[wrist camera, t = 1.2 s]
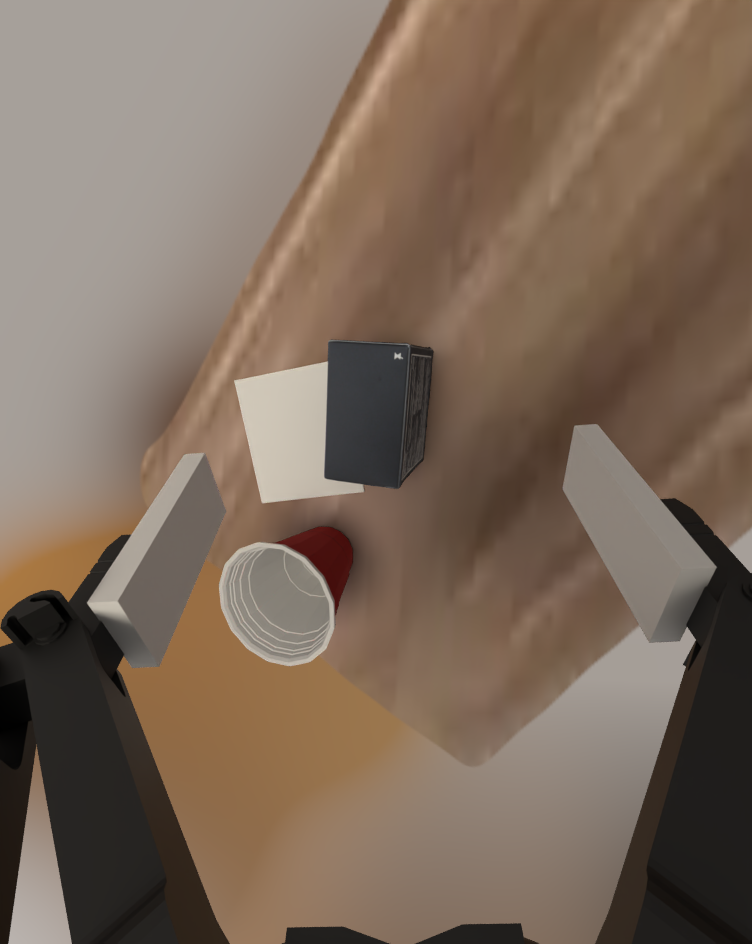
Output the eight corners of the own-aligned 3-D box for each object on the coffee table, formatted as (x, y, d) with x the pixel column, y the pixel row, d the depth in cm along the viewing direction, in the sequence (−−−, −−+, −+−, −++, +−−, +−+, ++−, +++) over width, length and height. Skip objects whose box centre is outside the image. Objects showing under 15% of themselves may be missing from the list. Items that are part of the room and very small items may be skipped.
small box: (364, 343, 41) (323, 335, 32) (434, 347, 40) (414, 340, 30) (359, 455, 44) (319, 480, 34) (424, 462, 42) (402, 491, 33)
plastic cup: (284, 490, 47) (217, 529, 36) (383, 516, 45) (344, 565, 33) (273, 582, 50) (208, 644, 38) (365, 610, 48) (324, 685, 36)
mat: (340, 359, 42) (339, 359, 42) (364, 491, 45) (363, 491, 44) (235, 380, 46) (234, 380, 45) (263, 502, 48) (262, 503, 48)
